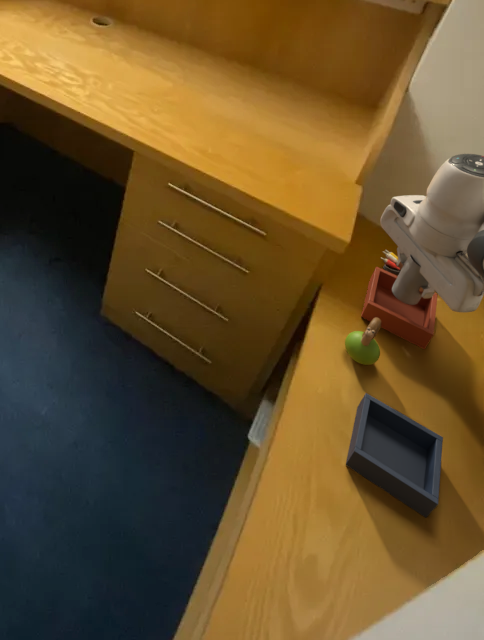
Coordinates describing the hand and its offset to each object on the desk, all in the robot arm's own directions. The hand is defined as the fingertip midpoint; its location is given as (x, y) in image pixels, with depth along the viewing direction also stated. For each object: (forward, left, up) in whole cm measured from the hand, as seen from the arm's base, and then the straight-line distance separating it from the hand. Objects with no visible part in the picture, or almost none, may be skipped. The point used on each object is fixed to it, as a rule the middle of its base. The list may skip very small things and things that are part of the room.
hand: (412, 281), depth 97 cm
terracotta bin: (0, 0, -10) cm, 10 cm away
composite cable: (-8, -8, -10) cm, 15 cm away
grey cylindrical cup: (0, 0, -4) cm, 4 cm away
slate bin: (+18, +24, -10) cm, 31 cm away
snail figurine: (+13, +8, -10) cm, 18 cm away
